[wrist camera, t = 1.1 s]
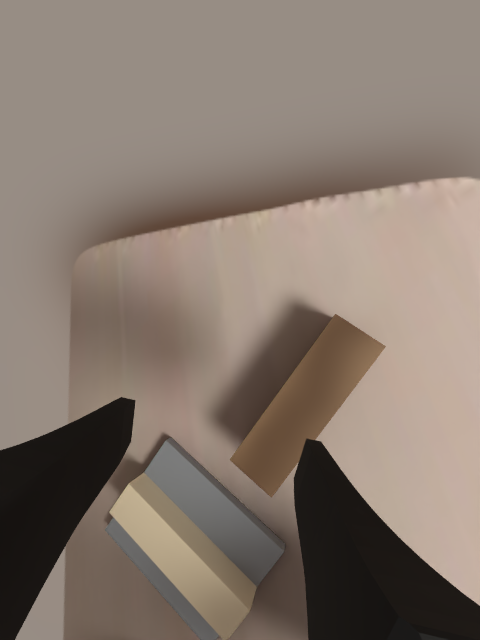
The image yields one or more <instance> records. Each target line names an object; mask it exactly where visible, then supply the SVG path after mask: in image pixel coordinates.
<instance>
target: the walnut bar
mask: <svg viewBox="0 0 480 640" xmlns="http://www.w3.org/2000/svg"><path fill="white" fill-rule="evenodd" d="M385 347H386V346H384V345H383V344H381V343H380V342H378V341H377V340H375V339H373V338H372V337H370V336H369V335H367V334H366V333H364V332H363V331H361V330H360V329H358V328H357V327H355V326H353V325H352V324H350V323H349V322H347V321H346V320H344V319H343V318H341V317H340V316H338V315H336V314H335V315H334V316H333V318H332V319H331V321H330V322H329V323H328V325H327V326H326V327H325V329H324V330H323V332H322V333H321V334H320V336H319V337H318V339H317V340H316V341H315V343H314V344H313V345H312V347H311V348H310V350H309V351H308V352H307V354H306V355H305V356H304V358H303V359H302V361H301V362H300V363H299V365H298V366H297V368H296V369H295V370H294V372H293V373H292V374H291V376H290V377H289V379H288V380H287V381H286V383H285V384H284V385H283V387H282V388H281V390H280V391H279V392H278V394H277V395H276V397H275V398H274V399H273V401H272V402H271V403H270V405H269V406H268V408H267V409H266V410H265V412H264V413H263V414H262V416H261V417H260V419H259V420H258V421H257V423H256V424H255V426H254V427H253V428H252V430H251V431H250V432H249V434H248V435H247V437H246V438H245V439H244V441H243V442H242V443H241V445H240V446H239V448H238V449H237V450H236V452H235V453H234V455H233V456H232V457H231V459H230V460H231V461H232V462H233V463H234V464H235V465H236V466H237V467H238V468H239V469H240V470H242V471H243V472H244V473H245V474H246V475H247V476H248V477H249V478H250V479H252V480H253V481H254V482H255V483H256V484H257V485H258V486H259V487H260V488H261V489H263V490H264V491H265V492H266V493H267V494H268V495H269V496H270V497H271V498H272V496H273V495H274V494H275V492H276V491H277V490H278V488H279V487H280V486H281V484H282V483H283V482H284V480H285V479H286V478H287V476H288V475H289V474H290V472H291V471H292V470H293V468H294V467H295V466H296V464H297V463H298V462H299V460H300V457H301V454H302V450H303V447H304V444H305V441H306V438H307V439H311V440H315V439H316V438H317V437H318V435H319V434H320V433H321V431H322V430H323V429H324V427H325V426H326V425H327V424H328V422H329V421H330V420H331V418H332V417H333V416H334V414H335V413H336V412H337V410H338V409H339V408H340V406H341V405H342V404H343V402H344V401H345V400H346V398H347V397H348V396H349V394H350V393H351V392H352V390H353V389H354V388H355V387H356V385H357V384H358V383H359V381H360V380H361V379H362V377H363V376H364V375H365V373H366V372H367V371H368V369H369V368H370V367H371V365H372V364H373V363H374V361H375V360H376V359H377V357H378V356H379V355H380V353H381V352H382V351H383V350H384V348H385Z"/></svg>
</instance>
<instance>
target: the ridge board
mask: <svg viewBox="0 0 480 640" xmlns="http://www.w3.org/2000/svg"><path fill="white" fill-rule="evenodd" d="M109 513H110V514H111V515H112V516H113V519H112V520H111V522H110V523H109V525H108V526H107V527H106V529H105V531H106V532H107V533H108V534H109V535H110V536H111V537H112V539H113V540H114V541H115V542H116V543H117V544H118V546H119V547H120V548H121V549H122V550H123V551H124V552H125V554H126V555H127V556H128V557H129V558H130V559H131V560H132V562H133V563H134V564H135V565H136V566H137V567H138V568H139V570H140V571H141V572H142V573H143V574H144V575H145V577H146V578H147V579H148V580H149V581H150V582H151V583H152V585H153V586H154V587H155V588H156V589H157V590H158V591H159V593H160V594H161V595H162V596H163V597H164V598H165V600H166V601H167V602H168V603H169V604H170V605H171V606H172V608H173V609H174V610H175V611H176V612H177V613H178V614H179V616H180V617H181V618H182V619H183V620H184V621H185V623H186V624H187V625H188V626H189V627H190V628H191V629H192V631H193V632H194V633H195V634H196V635H197V636H198V637H199V639H200V640H216V639H217V638H218V637H219V636H220V637H221V638H222V639H223V640H228V639H229V637H230V636H231V635H232V634H233V632H234V631H235V630H236V628H237V627H238V626H239V625H240V623H241V622H242V621H243V620H244V618H245V617H246V616H247V614H248V613H249V612H250V610H251V606H252V603H253V599H254V596H255V592H256V588H257V586H258V585H259V584H260V582H261V581H262V580H263V578H264V577H265V576H266V575H267V573H268V572H269V571H270V569H271V568H272V567H273V566H274V564H275V563H276V562H277V560H278V559H279V558H280V556H281V555H282V554H283V553H284V550H285V545H286V544H285V543H284V542H283V541H281V540H280V539H279V538H278V537H277V536H276V535H275V534H274V533H273V532H272V531H271V530H270V529H269V528H268V527H266V526H265V525H264V524H263V523H262V522H261V521H260V520H259V519H258V518H257V517H256V516H255V515H254V514H253V513H251V512H250V511H249V510H248V509H247V508H246V507H245V506H244V505H243V504H242V503H241V502H240V501H239V500H238V499H236V498H235V497H234V496H233V495H232V494H231V493H230V492H229V491H228V490H227V489H226V488H225V487H224V486H223V485H222V484H220V483H219V482H218V481H217V480H216V479H215V478H214V477H213V476H212V475H211V474H210V473H209V472H208V471H207V470H205V469H204V468H203V467H202V466H201V465H200V464H199V463H198V462H197V461H196V460H195V459H194V458H193V457H192V456H190V455H189V454H188V453H187V452H186V451H185V450H184V449H183V448H182V447H181V446H180V445H179V444H178V443H177V442H175V441H174V440H173V439H172V438H171V437H170V438H169V439H167V440H166V441H165V442H164V444H163V445H162V447H161V448H160V450H159V451H158V453H157V454H156V455H155V457H154V458H153V460H152V461H151V463H150V464H149V466H148V467H147V469H146V470H145V472H144V473H142V474H141V475H140V476H138V477H137V478H136V479H134V480H133V481H131V482H130V483H129V484H128V485H127V487H126V488H125V490H124V491H123V493H122V494H121V496H120V497H119V499H118V500H117V502H116V503H115V504H114V506H113V507H112V509H111V510H110V512H109Z"/></svg>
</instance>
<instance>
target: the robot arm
mask: <svg viewBox="0 0 480 640" xmlns="http://www.w3.org/2000/svg"><path fill="white" fill-rule="evenodd" d="M134 409H135V400H132V399H127V398H123V397H121V398H119V399H117V400H115V401H113V402H111V403H109V404H107V405H105V406H103V407H101V408H99V409H98V410H96V411H94V412H92V413H90V414H88V415H86V416H84V417H82V418H80V419H78V420H76V421H74V422H72V423H70V424H67V425H65V426H63V427H61V428H59V429H57V430H54V431H52V432H50V433H48V434H45V435H43V436H40V437H38V438H35V439H33V440H30V441H27V442H25V443H22V444H19V445H16V446H13V447H10V448H7V449H3V450H0V640H15V638H16V636H17V634H18V632H19V630H20V629H21V627H22V625H23V623H24V621H25V619H26V617H27V615H28V613H29V611H30V610H31V608H32V606H33V604H34V602H35V600H36V598H37V596H38V594H39V592H40V591H41V589H42V587H43V585H44V583H45V582H46V580H47V578H48V576H49V574H50V572H51V571H52V569H53V567H54V565H55V563H56V562H57V560H58V558H59V556H60V554H61V553H62V551H63V549H64V547H65V546H66V544H67V542H68V540H69V539H70V537H71V535H72V533H73V532H74V530H75V528H76V527H77V525H78V524H79V522H80V520H81V519H82V517H83V516H84V514H85V513H86V511H87V510H88V509H89V507H90V506H91V504H92V503H93V501H94V500H95V498H96V497H97V496H98V494H99V493H100V491H101V490H102V488H103V487H104V485H105V484H106V483H107V481H108V480H109V478H110V477H111V475H112V474H113V472H114V471H115V469H116V468H117V466H118V465H119V463H120V461H121V460H122V458H123V456H124V454H125V452H126V450H127V448H128V446H129V444H130V442H131V437H132V427H133V418H134ZM294 500H295V511H296V518H297V525H298V532H299V539H300V545H301V552H302V559H303V566H304V574H305V584H306V600H307V616H308V638H309V640H480V606H479V605H478V604H476V603H475V602H474V601H472V600H471V599H470V598H468V597H467V596H466V595H464V594H463V593H462V592H460V591H459V590H458V589H457V588H456V587H454V586H453V585H452V584H451V583H449V582H448V581H447V580H446V579H445V578H443V577H442V576H441V575H440V574H439V573H437V572H436V571H435V570H434V569H433V568H432V567H430V566H429V565H428V564H427V563H426V562H425V561H424V560H422V559H421V558H420V557H419V556H418V555H417V554H416V553H415V552H414V551H413V550H412V549H411V548H410V547H408V546H407V545H406V544H405V543H404V542H403V541H402V540H401V539H400V538H399V537H398V536H397V535H396V534H395V533H394V532H393V531H392V530H391V529H390V528H389V527H388V526H387V525H386V524H385V522H384V521H383V520H382V519H381V518H380V517H379V516H378V515H377V514H376V513H375V512H374V511H373V509H372V508H371V507H370V506H369V505H368V504H367V502H366V501H365V500H364V499H363V498H362V496H361V495H360V494H359V493H358V491H357V490H356V489H355V488H354V486H353V485H352V484H351V482H350V481H349V480H348V479H347V477H346V476H345V474H344V473H343V472H342V470H341V469H340V468H339V466H338V465H337V463H336V462H335V461H334V459H333V458H332V456H331V455H330V454H329V452H328V451H327V449H326V448H325V446H324V445H323V444H322V442H320V441H316V440H311V439H307V438H306V441H305V444H304V447H303V450H302V454H301V457H300V460H299V463H298V467H297V470H296V473H295V477H294Z"/></svg>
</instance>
